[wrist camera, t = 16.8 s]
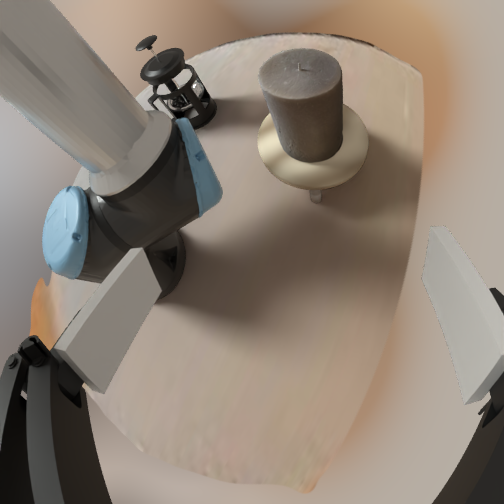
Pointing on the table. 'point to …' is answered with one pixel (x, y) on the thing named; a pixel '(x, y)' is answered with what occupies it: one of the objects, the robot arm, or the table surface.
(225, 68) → the table surface
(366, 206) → the table surface
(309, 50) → the pillar candle
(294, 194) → the table surface
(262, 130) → the beige round legged stand
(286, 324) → the table surface
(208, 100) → the french press
